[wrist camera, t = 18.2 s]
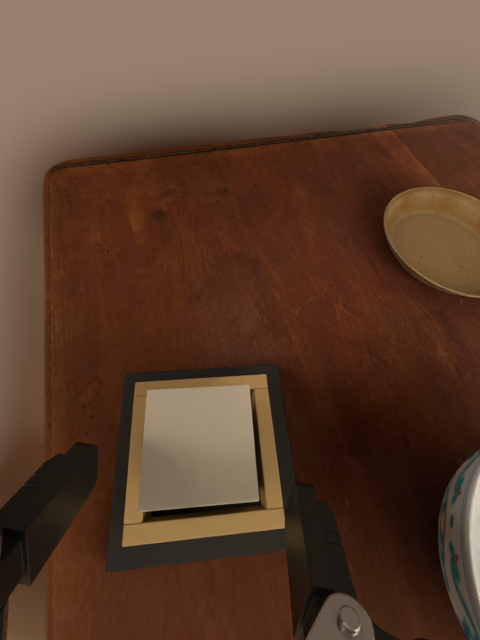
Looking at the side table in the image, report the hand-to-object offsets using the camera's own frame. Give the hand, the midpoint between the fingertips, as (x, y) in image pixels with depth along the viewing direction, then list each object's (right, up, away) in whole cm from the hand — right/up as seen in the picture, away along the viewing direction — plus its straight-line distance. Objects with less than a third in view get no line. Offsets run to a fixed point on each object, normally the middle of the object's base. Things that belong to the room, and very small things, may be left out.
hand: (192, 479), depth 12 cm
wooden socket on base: (-1, -3, +10) cm, 10 cm away
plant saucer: (+24, +14, +20) cm, 34 cm away
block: (0, -3, +9) cm, 9 cm away
